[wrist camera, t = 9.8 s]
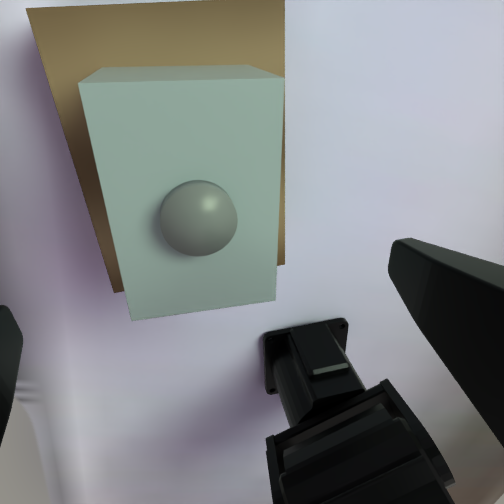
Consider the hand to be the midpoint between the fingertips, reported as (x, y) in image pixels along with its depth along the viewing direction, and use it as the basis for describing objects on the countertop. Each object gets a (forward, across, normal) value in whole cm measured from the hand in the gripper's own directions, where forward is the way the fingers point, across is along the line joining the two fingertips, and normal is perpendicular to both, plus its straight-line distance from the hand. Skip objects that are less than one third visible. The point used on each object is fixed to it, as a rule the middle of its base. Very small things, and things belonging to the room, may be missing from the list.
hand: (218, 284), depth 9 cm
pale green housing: (+9, 0, 0) cm, 9 cm away
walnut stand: (+12, 0, 0) cm, 12 cm away
